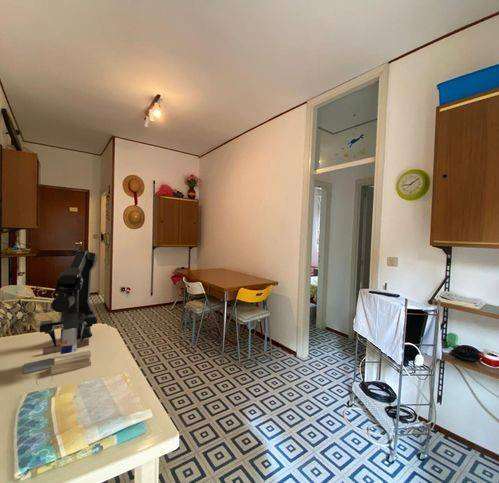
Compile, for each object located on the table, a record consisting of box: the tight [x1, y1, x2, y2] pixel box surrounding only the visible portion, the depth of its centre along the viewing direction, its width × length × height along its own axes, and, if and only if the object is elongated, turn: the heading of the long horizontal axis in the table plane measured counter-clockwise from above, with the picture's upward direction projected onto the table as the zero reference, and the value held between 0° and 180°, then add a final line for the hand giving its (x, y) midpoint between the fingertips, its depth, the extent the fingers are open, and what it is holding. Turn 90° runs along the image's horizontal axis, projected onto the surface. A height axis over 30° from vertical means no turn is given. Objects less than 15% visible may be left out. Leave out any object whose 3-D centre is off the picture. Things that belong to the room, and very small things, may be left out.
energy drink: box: [59, 326, 78, 355], centre depth 107 cm, size 5×5×12 cm
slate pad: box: [23, 357, 53, 375], centre depth 98 cm, size 8×8×1 cm
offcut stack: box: [50, 348, 92, 376], centre depth 99 cm, size 5×12×4 cm, turn 129°
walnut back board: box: [42, 337, 90, 355], centre depth 113 cm, size 1×16×3 cm, turn 129°
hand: (68, 343), depth 107 cm, fingers open, 8 cm apart
